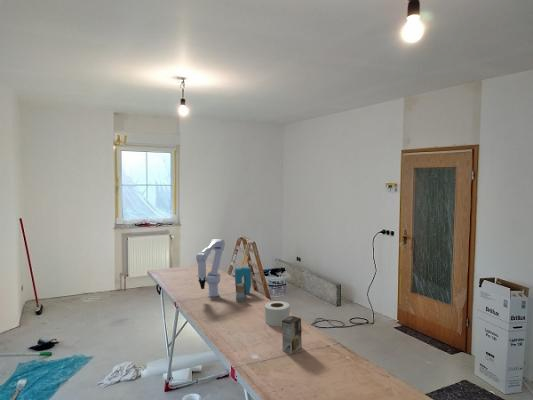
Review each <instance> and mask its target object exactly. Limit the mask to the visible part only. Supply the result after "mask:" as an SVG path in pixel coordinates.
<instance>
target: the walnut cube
mask: <svg viewBox="0 0 533 400" xmlns="http://www.w3.org/2000/svg"><path fill="white" fill-rule="evenodd" d="M236 292H238V293H240V292H245V288H244V285H243V284H236V286H235V293H236Z"/></svg>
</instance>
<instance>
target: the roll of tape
mask: <svg viewBox="0 0 533 400" xmlns="http://www.w3.org/2000/svg"><path fill="white" fill-rule="evenodd" d="M290 312H291V311H290V303H288V302H286V301H281V300H278V301H275V300H274V301H269V302H267V303H266V304H265V305H264V319H265V320H264V322H265V324H266V325H268V326H271V327H282V321H283V320H285V319H286V318H288V317H290V315H291V314H290Z"/></svg>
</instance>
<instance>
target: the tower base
mask: <svg viewBox="0 0 533 400" xmlns="http://www.w3.org/2000/svg"><path fill="white" fill-rule="evenodd" d="M235 302H236V303H241V302H242V303H243V302H246V301H245V296H244V297H236V296H235Z"/></svg>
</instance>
